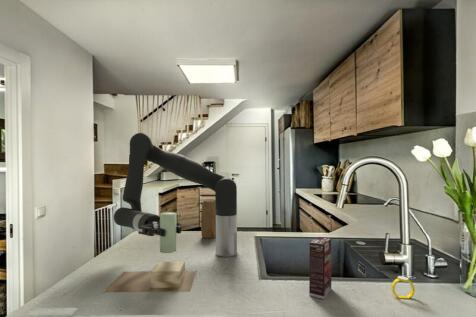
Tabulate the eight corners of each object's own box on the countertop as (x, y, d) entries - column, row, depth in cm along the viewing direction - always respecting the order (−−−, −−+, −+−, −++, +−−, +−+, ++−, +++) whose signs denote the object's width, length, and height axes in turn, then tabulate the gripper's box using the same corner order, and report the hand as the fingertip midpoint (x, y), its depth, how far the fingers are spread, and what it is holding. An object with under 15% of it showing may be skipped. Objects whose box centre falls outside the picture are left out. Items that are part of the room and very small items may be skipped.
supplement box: (325, 300, 82) (324, 244, 82) (308, 296, 84) (308, 242, 85) (332, 288, 89) (332, 238, 89) (317, 285, 92) (316, 236, 92)
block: (213, 239, 148) (213, 201, 149) (200, 238, 150) (199, 200, 150) (218, 234, 159) (218, 198, 159) (205, 233, 160) (205, 198, 161)
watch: (410, 297, 84) (412, 277, 84) (415, 301, 81) (416, 280, 82) (389, 294, 85) (390, 274, 85) (393, 299, 82) (395, 278, 82)
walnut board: (196, 274, 101) (196, 271, 101) (189, 295, 85) (189, 291, 85) (123, 275, 101) (123, 271, 101) (103, 296, 85) (103, 291, 85)
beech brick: (184, 276, 97) (184, 261, 97) (179, 287, 88) (179, 271, 88) (158, 276, 97) (158, 261, 97) (150, 287, 88) (150, 271, 88)
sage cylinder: (177, 248, 95) (177, 212, 95) (174, 253, 90) (175, 215, 90) (161, 248, 95) (162, 212, 95) (158, 253, 90) (158, 215, 90)
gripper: (128, 215, 98) (152, 223, 86) (165, 210, 108) (191, 217, 96) (127, 237, 98) (151, 248, 85) (164, 230, 108) (191, 239, 96)
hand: (172, 231), depth 91 cm, fingers closed on sage cylinder, 5 cm apart
